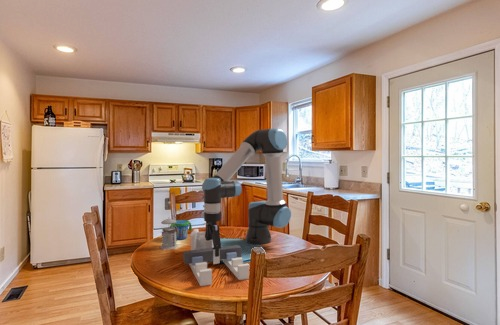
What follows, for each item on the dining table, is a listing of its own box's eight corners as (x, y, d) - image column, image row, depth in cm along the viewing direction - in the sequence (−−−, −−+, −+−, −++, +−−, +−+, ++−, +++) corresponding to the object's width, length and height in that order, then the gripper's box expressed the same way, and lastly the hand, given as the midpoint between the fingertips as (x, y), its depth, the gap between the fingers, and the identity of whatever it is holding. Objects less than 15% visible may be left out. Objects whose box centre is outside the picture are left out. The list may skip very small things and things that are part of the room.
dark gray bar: (238, 254, 143) (238, 245, 143) (241, 256, 139) (241, 247, 139) (183, 261, 134) (183, 251, 133) (184, 264, 130) (184, 253, 130)
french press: (171, 243, 171) (170, 199, 171) (184, 247, 164) (183, 201, 163) (156, 247, 163) (155, 201, 163) (168, 251, 156) (168, 203, 156)
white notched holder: (230, 258, 145) (230, 247, 145) (249, 278, 120) (249, 264, 120) (188, 263, 137) (188, 251, 137) (200, 286, 113) (200, 271, 113)
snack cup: (186, 234, 191) (186, 218, 190) (196, 237, 183) (196, 221, 183) (164, 239, 180) (164, 222, 180) (173, 242, 172) (173, 225, 172)
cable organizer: (211, 256, 144) (211, 231, 145) (189, 256, 144) (189, 232, 144) (214, 249, 159) (214, 227, 160) (194, 250, 159) (194, 227, 159)
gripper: (198, 208, 146) (198, 251, 146) (210, 217, 123) (211, 269, 123) (213, 207, 149) (213, 249, 149) (228, 216, 126) (228, 266, 126)
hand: (212, 258), depth 136 cm, fingers open, 13 cm apart
